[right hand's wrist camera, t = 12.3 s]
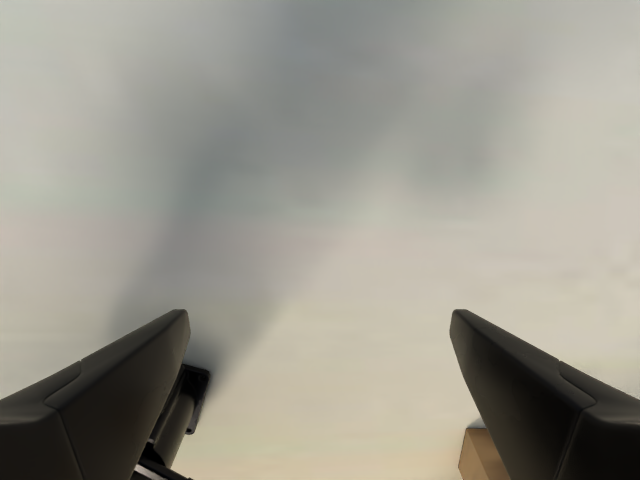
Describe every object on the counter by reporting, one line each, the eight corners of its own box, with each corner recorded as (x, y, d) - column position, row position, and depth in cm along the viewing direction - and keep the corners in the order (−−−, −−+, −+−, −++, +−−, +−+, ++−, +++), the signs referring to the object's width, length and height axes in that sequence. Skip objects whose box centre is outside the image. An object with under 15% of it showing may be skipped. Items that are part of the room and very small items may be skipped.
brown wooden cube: (516, 427, 28) (553, 487, 24) (505, 467, 30) (538, 529, 26) (465, 428, 28) (493, 487, 24) (457, 467, 30) (481, 529, 26)
